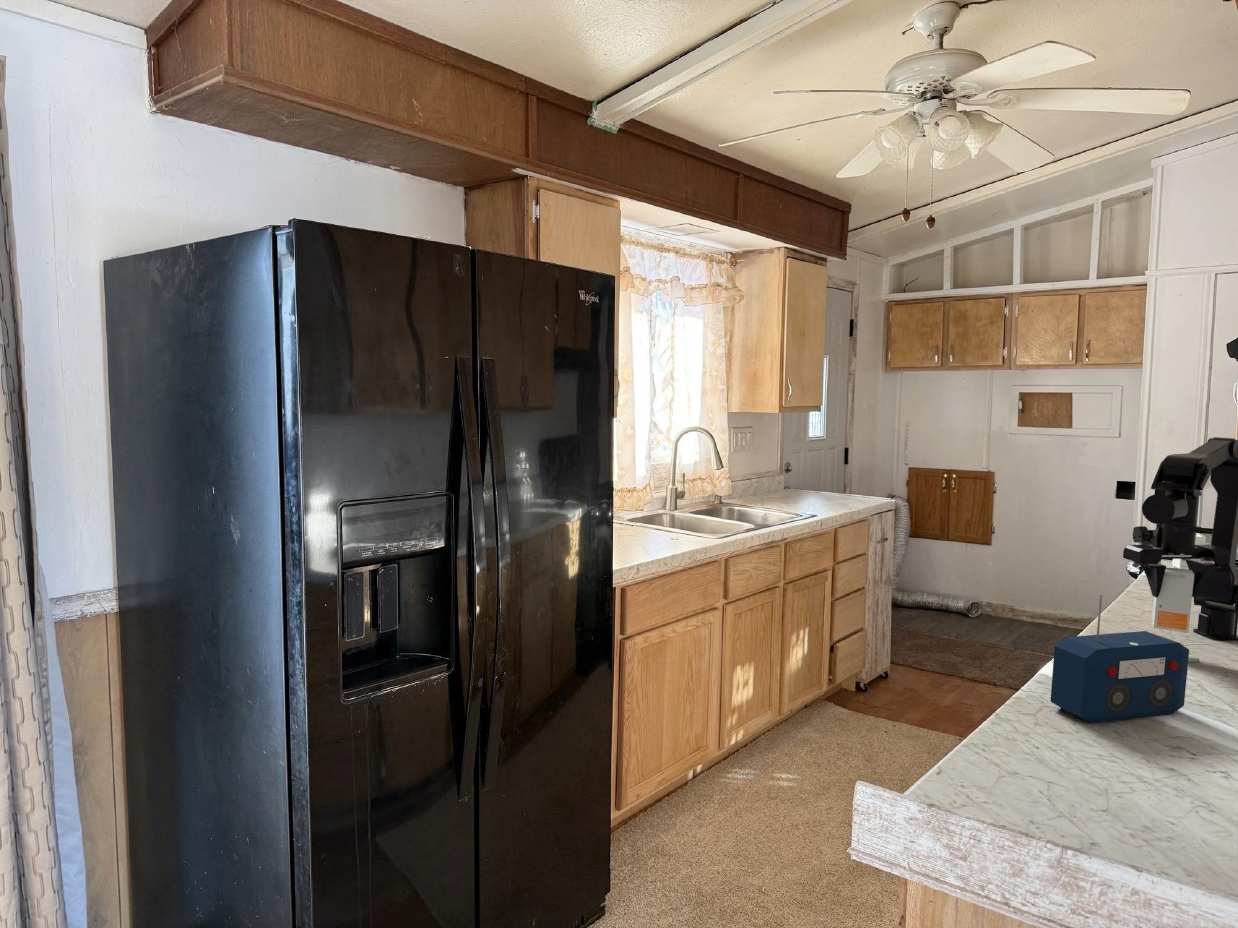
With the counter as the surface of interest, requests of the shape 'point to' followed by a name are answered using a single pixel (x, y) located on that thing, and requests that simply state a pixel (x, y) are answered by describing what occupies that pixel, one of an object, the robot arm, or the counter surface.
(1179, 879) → the counter surface
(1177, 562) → the syrup box
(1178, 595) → the skincare box
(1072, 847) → the counter surface
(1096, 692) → the radio
